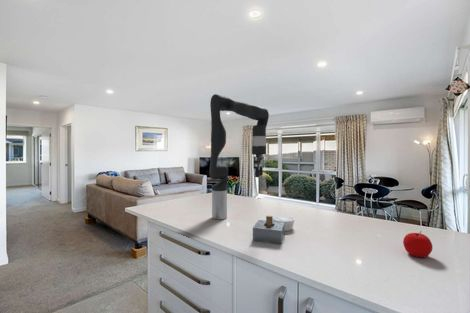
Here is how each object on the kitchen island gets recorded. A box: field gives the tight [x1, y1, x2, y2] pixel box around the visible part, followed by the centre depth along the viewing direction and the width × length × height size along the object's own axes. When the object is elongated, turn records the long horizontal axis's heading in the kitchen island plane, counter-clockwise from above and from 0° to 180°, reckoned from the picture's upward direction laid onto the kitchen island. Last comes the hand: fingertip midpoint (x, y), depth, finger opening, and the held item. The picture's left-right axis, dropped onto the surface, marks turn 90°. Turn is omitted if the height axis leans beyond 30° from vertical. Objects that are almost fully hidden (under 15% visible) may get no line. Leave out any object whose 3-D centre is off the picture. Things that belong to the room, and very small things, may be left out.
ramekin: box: [273, 215, 295, 232], centre depth 124 cm, size 11×11×5 cm
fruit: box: [402, 230, 433, 258], centre depth 91 cm, size 9×9×10 cm
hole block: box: [252, 219, 285, 245], centre depth 110 cm, size 13×13×6 cm
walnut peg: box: [265, 215, 274, 227], centre depth 111 cm, size 3×3×10 cm
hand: (258, 176), depth 121 cm, fingers open, 8 cm apart
